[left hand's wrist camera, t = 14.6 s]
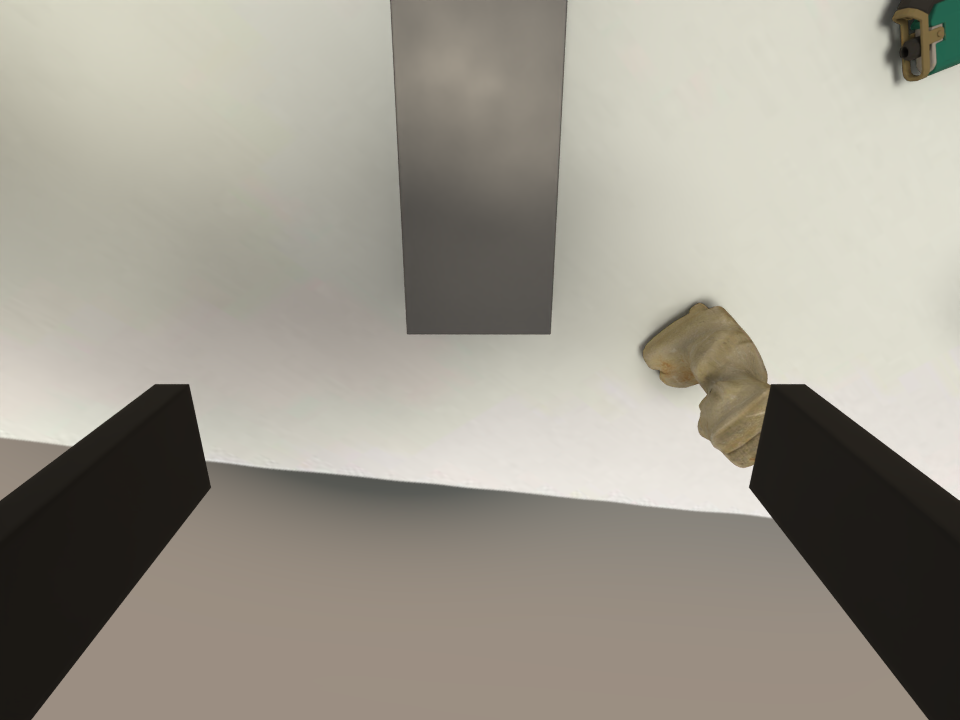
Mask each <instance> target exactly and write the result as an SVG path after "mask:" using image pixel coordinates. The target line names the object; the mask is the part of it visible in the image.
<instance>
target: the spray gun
mask: <svg viewBox="0 0 960 720" xmlns="http://www.w3.org/2000/svg"><path fill="white" fill-rule="evenodd" d="M897 9H898V11H896V12H895V14H894V16H893V18H892V21H894V22H895V23H898V24H900V30H901V49H900V57H901V58H902V69H903V76H904V78H905V79H906V80H907V81H918V80H921V79H923V78H925V77H927V76H929V75H932V74H934V73H937V72H939V71H942V70H944V69H947V68H949V67H952V66H954V65H957V64H959V63H960V0H902V1H901V3H900V4H899V6H898V8H897ZM913 18H914V19H915V20H914V21H913V23H912V24H911V26H910V27H911V30H915V33H912V34H910V35H909V30H908V20H912V19H913ZM914 59H916V67H917V69H918V70H919V71H920V72H921V74H920V75H913V74H912V73H911V68H910V61H911V60H914Z"/></svg>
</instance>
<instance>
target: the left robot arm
mask: <svg viewBox="0 0 960 720" xmlns="http://www.w3.org/2000/svg"><path fill="white" fill-rule="evenodd" d="M210 488H211V486H210V481H209V476H208V471H207V467H206V462H205V457H204V452H203V448H202V443H201V438H200V434H199V429H198V424H197V419H196V415H195V410H194V405H193V400H192V396H191V391H190V386H189V384H155V385H154V386H152V387H151V388H150V389H148V390H147V391H146V392H144V393H143V394H142V395H140V396H139V397H138V398H136V399H135V400H134V401H132V402H131V403H130V404H128V405H127V406H126V407H124V408H123V409H122V410H120V411H119V412H118V413H116V414H115V415H114V416H112V417H111V418H110V419H108V420H107V421H106V422H104V423H103V424H102V425H100V426H99V427H98V428H96V429H95V430H94V431H92V432H91V433H90V434H88V435H87V436H86V437H84V438H83V439H82V440H80V441H79V442H78V443H76V444H75V445H74V446H72V447H71V448H70V449H68V450H67V451H66V452H64V453H63V454H62V455H61V456H59V457H58V458H57V459H55V460H54V461H53V462H51V463H50V464H49V465H47V466H46V467H45V468H43V469H42V470H41V471H39V472H38V473H37V474H35V475H34V476H33V477H31V478H30V479H29V480H27V481H26V482H25V483H23V484H22V485H21V486H19V487H18V488H17V489H15V490H14V491H13V492H11V493H10V494H9V495H7V496H6V497H5V498H3V499H2V500H1V501H0V720H31V719H32V718H33V717H34V716H35V714H36V713H37V712H38V710H39V709H40V708H41V707H42V705H43V704H44V703H45V701H46V700H47V699H48V697H49V696H50V695H51V694H52V692H53V691H54V690H55V688H56V687H57V686H58V685H59V683H60V682H61V681H62V679H63V678H64V677H65V676H66V674H67V673H68V672H69V670H70V669H71V668H72V666H73V665H74V664H75V663H76V661H77V660H78V659H79V657H80V656H81V655H82V654H83V652H84V651H85V650H86V648H87V647H88V646H89V644H90V643H91V642H92V641H93V639H94V638H95V637H96V635H97V634H98V633H99V632H100V630H101V629H102V628H103V626H104V625H105V624H106V623H107V621H108V620H109V619H110V617H111V616H112V615H113V613H114V612H115V611H116V610H117V608H118V607H119V606H120V604H121V603H122V602H123V601H124V599H125V598H126V597H127V595H128V594H129V593H130V591H131V590H132V589H133V588H134V586H135V585H136V584H137V582H138V581H139V580H140V579H141V577H142V576H143V575H144V573H145V572H146V571H147V570H148V568H149V567H150V566H151V564H152V563H153V562H154V560H155V559H156V558H157V557H158V555H159V554H160V553H161V551H162V550H163V549H164V548H165V546H166V545H167V544H168V542H169V541H170V540H171V538H172V537H173V536H174V535H175V533H176V532H177V531H178V529H179V528H180V527H181V526H182V524H183V523H184V522H185V520H186V519H187V518H188V516H189V515H190V514H191V513H192V511H193V510H194V509H195V507H196V506H197V505H198V504H199V502H200V501H201V500H202V498H203V497H204V496H205V495H206V493H207V492H208V491H209V489H210ZM749 488H750V489H751V491H752V492H753V493H754V495H755V496H756V497H757V498H758V500H759V501H760V502H761V504H762V505H763V506H764V507H765V509H766V510H767V511H768V513H769V514H770V515H771V517H772V518H773V519H774V520H775V522H776V523H777V524H778V526H779V527H780V528H781V529H782V531H783V532H784V533H785V535H786V536H787V537H788V539H789V540H790V541H791V542H792V544H793V545H794V546H795V548H796V549H797V550H798V551H799V553H800V554H801V555H802V557H803V558H804V559H805V560H806V562H807V563H808V564H809V566H810V567H811V568H812V569H813V571H814V572H815V573H816V575H817V576H818V577H819V579H820V580H821V581H822V582H823V584H824V585H825V586H826V588H827V589H828V590H829V592H830V593H831V594H832V595H833V597H834V598H835V599H836V601H837V602H838V603H839V604H840V606H841V607H842V608H843V610H844V611H845V612H846V613H847V615H848V616H849V617H850V619H851V620H852V621H853V623H854V624H855V625H856V626H857V628H858V629H859V630H860V632H861V633H862V634H863V635H864V637H865V638H866V639H867V641H868V642H869V643H870V645H871V646H872V647H873V648H874V650H875V651H876V652H877V654H878V655H879V656H880V657H881V659H882V660H883V661H884V663H885V664H886V665H887V666H888V668H889V669H890V670H891V672H892V673H893V674H894V676H895V677H896V678H897V679H898V681H899V682H900V683H901V685H902V686H903V687H904V688H905V690H906V691H907V692H908V694H909V695H910V696H911V697H912V699H913V700H914V701H915V703H916V704H917V705H918V707H919V708H920V709H921V710H922V712H923V713H924V714H925V716H926V717H927V718H928V719H929V720H960V500H958V499H957V498H955V497H954V496H953V495H951V494H950V493H949V492H947V491H946V490H945V489H943V488H942V487H941V486H939V485H938V484H937V483H935V482H934V481H933V480H931V479H930V478H929V477H927V476H926V475H925V474H923V473H922V472H921V471H919V470H918V469H917V468H915V467H914V466H913V465H911V464H910V463H909V462H907V461H906V460H905V459H903V458H902V457H901V456H899V455H898V454H897V453H896V452H894V451H893V450H892V449H890V448H889V447H888V446H886V445H885V444H884V443H882V442H881V441H880V440H878V439H877V438H876V437H874V436H873V435H872V434H870V433H869V432H868V431H866V430H865V429H864V428H862V427H861V426H860V425H858V424H857V423H856V422H854V421H853V420H852V419H850V418H849V417H848V416H846V415H845V414H844V413H842V412H841V411H840V410H838V409H837V408H836V407H834V406H833V405H832V404H830V403H829V402H828V401H826V400H825V399H824V398H822V397H821V396H820V395H818V394H817V393H816V392H814V391H813V390H812V389H810V388H809V387H808V386H806V385H805V384H771V386H770V391H769V396H768V400H767V405H766V410H765V415H764V419H763V424H762V429H761V433H760V438H759V443H758V448H757V452H756V457H755V462H754V467H753V471H752V476H751V481H750V485H749Z"/></svg>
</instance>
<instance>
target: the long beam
mask: <svg viewBox="0 0 960 720" xmlns="http://www.w3.org/2000/svg"><path fill="white" fill-rule="evenodd" d="M390 5H391V25H392V45H393V64H394V84H395V104H396V124H397V144H398V164H399V184H400V204H401V224H402V244H403V264H404V284H405V304H406V324H407V334H551V315H552V295H553V275H554V256H555V236H556V216H557V196H558V176H559V156H560V136H561V117H562V97H563V77H564V57H565V37H566V17H567V0H390Z"/></svg>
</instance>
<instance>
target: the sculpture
mask: <svg viewBox="0 0 960 720" xmlns="http://www.w3.org/2000/svg"><path fill="white" fill-rule="evenodd" d="M643 357H644V360H645V362H646V363H647V365H648V366H649V367H650V368H651V369H653V370H660V379H661V380H662V381H663V382H664V383H665V384H666V385H669V386H672V387H678V388H686V387H689V386H692V385H695V384H700V385H701V387H702V388H703V389H704V391H705V392H706V393H707V396H706V397H705V398H704V399H703V400H702V401H701V403H700V404H699V408H700V410H701V413H700V419H699V421H698V431H699V433H700V435H701V436H702V437H704V438H706V439H708V440H710V441H711V443H712V445H713V446H714V447H715V448H717V449H718V450H720V451H721V452H722V453H723V454H724V455H725V456H726V457H727V458H728V459H729V460H730V461H731V462H732V463H733V464H735V465H736V466H738V467H741V468H745V467H749V466H752V465H754V462H755V457H756V452H757V448H758V443H759V438H760V433H761V429H762V424H763V419H764V415H765V410H766V405H767V400H768V396H769V391H770V386H771V385H769V384H767V379H768V378H767V371H766V368H765V366H764V363H763V360H762V358H761V356H760V354H759V352H758V350H757V348H756V346H755V345H754V343H753V341H752V340H751V339H750V337H749V336H748V335H747V333H746V332H745V331H744V330H743V329H742V328H741V327H740V326H739V325H738V324H737V322H736V321H735V320H734V319H733V317H732V316H731V315H730V314H729V313H728V312H727V311H726V310H725V309H724V308H722V307H720V306H716V307H712V308H710V309H708V308H707V307H706V306H705V305H704V304H702V303H698V304H696V305H694V306H693V307H692V308H691V309H690V311H689V314H687V315H686V316H684V317H682V318H680V319H678V320H676V321H675V322H673V323H672V324H671V325H669V326H668V327H666V328H665V329H663V330H662V331H661V332H660V333H659V334H657V335H656V336H655V337H654V338H652V339H651V340H650V341H649V342H648V343H647V345H646V346H645V348H644V351H643Z"/></svg>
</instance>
